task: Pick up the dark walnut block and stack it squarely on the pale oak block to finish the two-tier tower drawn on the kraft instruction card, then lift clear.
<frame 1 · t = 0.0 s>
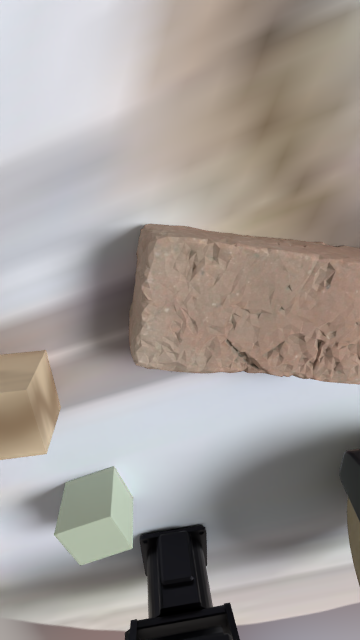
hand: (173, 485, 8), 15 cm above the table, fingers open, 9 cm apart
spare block: (100, 489, 29), on the table
brown rock: (250, 294, 23), on the table
oak block: (18, 383, 23), on the table
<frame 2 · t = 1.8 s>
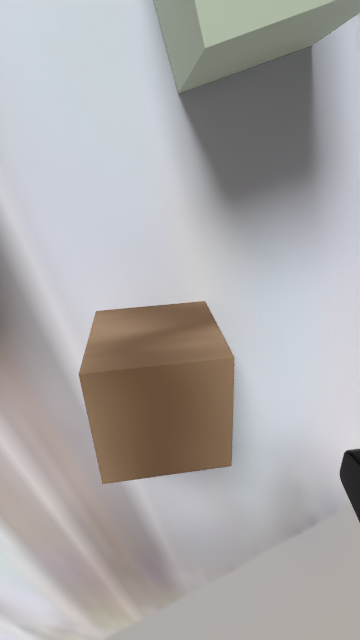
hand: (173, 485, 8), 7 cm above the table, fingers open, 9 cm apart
walnut block: (155, 351, 14), on the table
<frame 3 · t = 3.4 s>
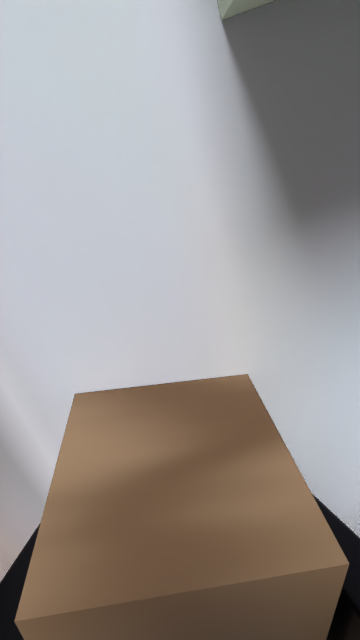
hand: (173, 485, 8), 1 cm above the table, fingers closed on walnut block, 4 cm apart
walnut block: (168, 447, 9), on the table, touching gripper
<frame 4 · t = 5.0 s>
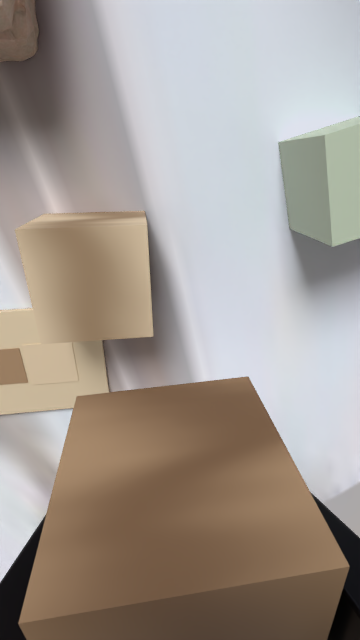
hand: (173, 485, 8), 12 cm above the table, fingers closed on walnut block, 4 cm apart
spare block: (323, 175, 17), on the table
walnut block: (169, 449, 9), point 11 cm above the table, touching gripper
instruction card: (28, 362, 20), on the table
oak block: (101, 260, 18), on the table
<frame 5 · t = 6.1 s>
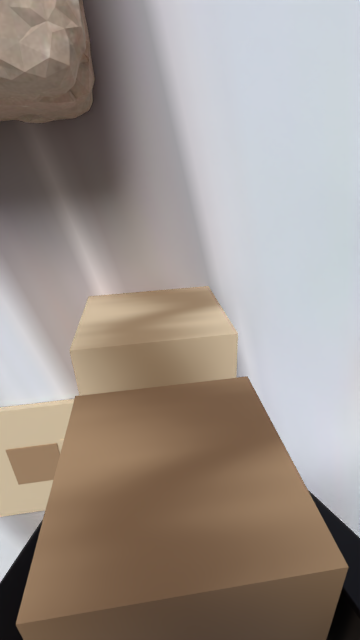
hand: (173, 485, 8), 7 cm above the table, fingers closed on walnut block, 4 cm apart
walnut block: (168, 449, 9), point 6 cm above the table, touching gripper
instruction card: (67, 455, 17), on the table
oak block: (154, 342, 15), on the table
when the fingers open (7 cm above the table, at t = 7.0 s): walnut block stays where it is, resting on oak block.
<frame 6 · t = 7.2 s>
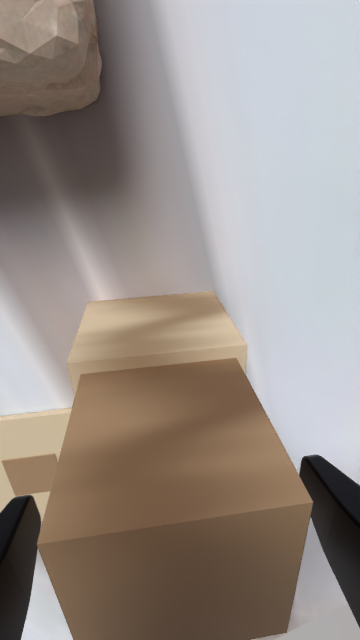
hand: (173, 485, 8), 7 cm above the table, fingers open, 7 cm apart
walnut block: (165, 425, 10), point 4 cm above the table, touching oak block
instruction card: (65, 465, 16), on the table
oak block: (156, 349, 14), on the table, touching walnut block
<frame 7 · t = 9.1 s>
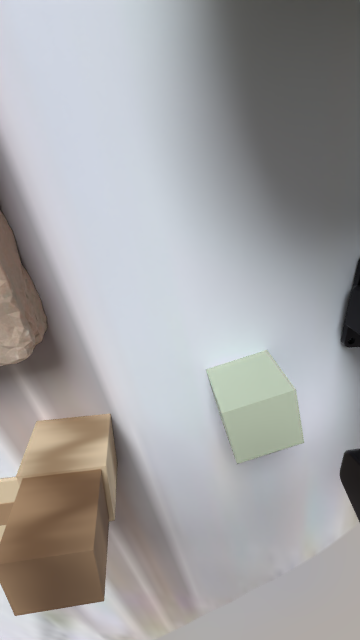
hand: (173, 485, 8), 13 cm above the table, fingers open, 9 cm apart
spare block: (242, 383, 23), on the table
walnut block: (68, 499, 20), point 4 cm above the table, touching oak block
instruction card: (25, 507, 26), on the table
oak block: (79, 443, 24), on the table, touching walnut block
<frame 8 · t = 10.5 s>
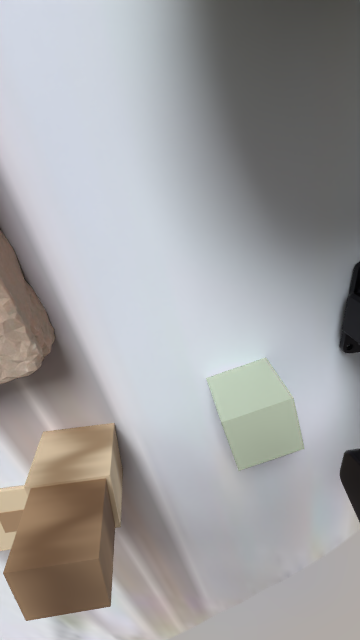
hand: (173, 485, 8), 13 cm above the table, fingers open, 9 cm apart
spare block: (242, 390, 24), on the table
walnut block: (75, 507, 20), point 4 cm above the table, touching oak block
instruction card: (35, 514, 27), on the table
oak block: (85, 451, 25), on the table, touching walnut block
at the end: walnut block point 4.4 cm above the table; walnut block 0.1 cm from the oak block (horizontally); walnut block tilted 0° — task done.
